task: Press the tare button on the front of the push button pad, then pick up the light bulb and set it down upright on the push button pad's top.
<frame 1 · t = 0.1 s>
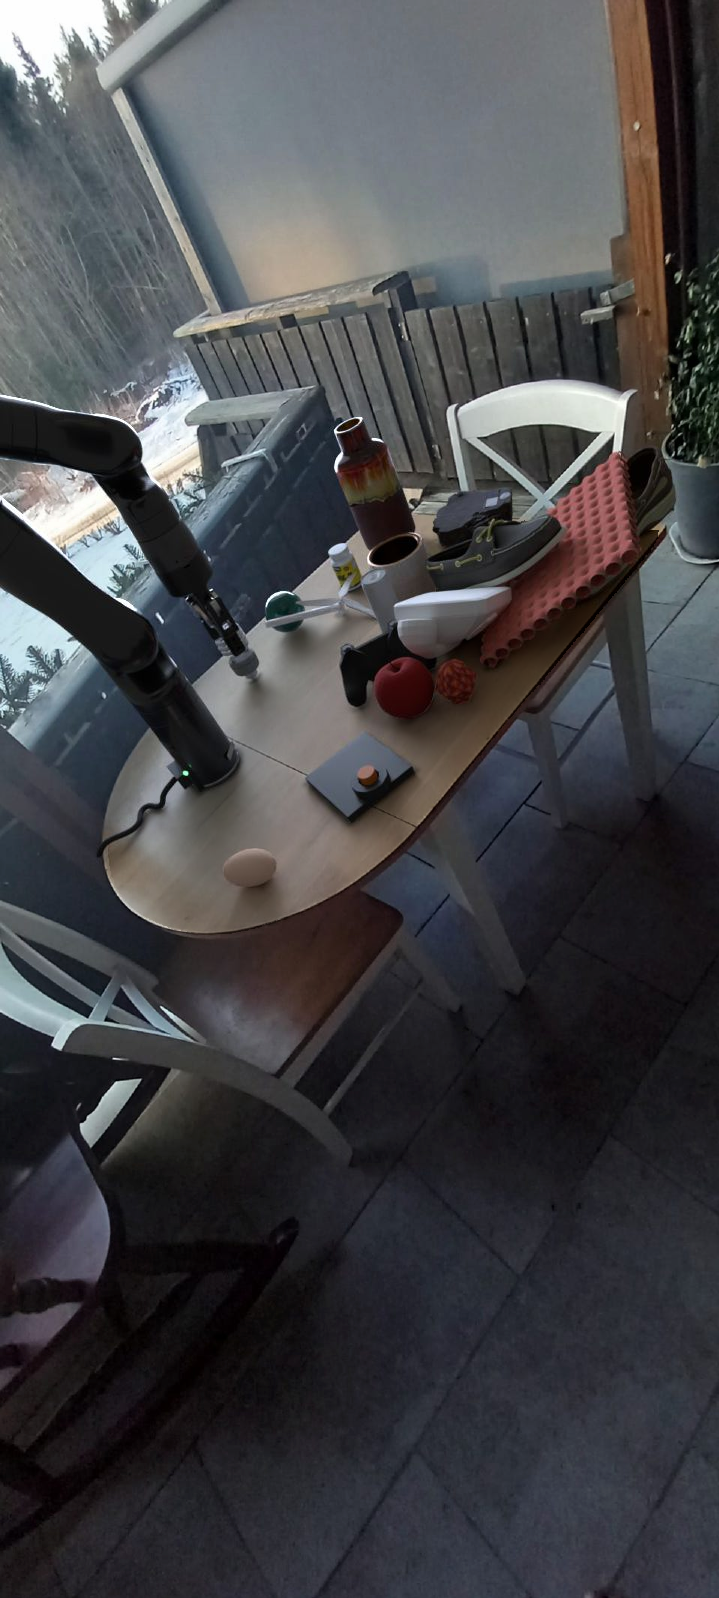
hand: (229, 644, 118), 17 cm above the table, tool pointing down, fingers open, 8 cm apart
egg carton: (558, 564, 117), point 7 cm above the table, touching boat shoe, boat shoe 2, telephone
boat shoe: (614, 551, 126), on the table, touching egg carton
rock sample: (475, 526, 150), on the table
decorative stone: (464, 702, 115), on the table
apple: (413, 709, 118), on the table
boat shoe 2: (503, 575, 123), point 6 cm above the table, touching egg carton, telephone
sphere: (293, 628, 149), on the table
egg: (275, 862, 102), point 3 cm above the table
wind turbine: (265, 625, 141), point 7 cm above the table
planter: (411, 594, 142), on the table
vase: (395, 548, 156), on the table
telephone: (451, 593, 117), point 10 cm above the table, touching boat shoe 2, egg carton
push button pad: (359, 778, 112), on the table
game controller: (390, 678, 126), on the table
supplement bottle: (353, 585, 153), on the table
light bulb: (254, 678, 143), on the table
tare button: (367, 775, 106), point 3 cm above the table, slide at 0.1 cm
beverage can: (396, 633, 135), on the table
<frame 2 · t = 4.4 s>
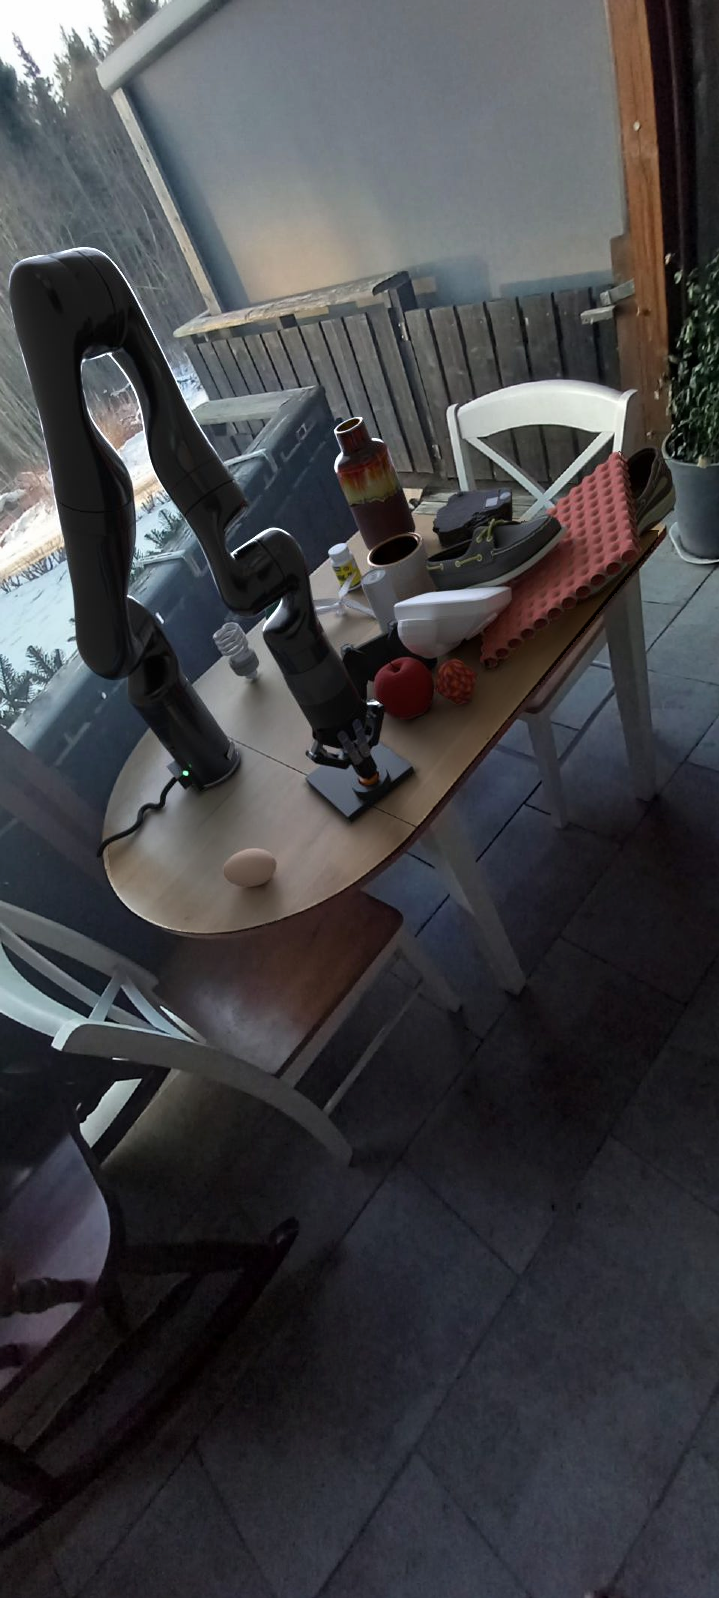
hand: (369, 774, 106), 3 cm above the table, tool pointing down, fingers closed
tare button: (369, 779, 107), point 3 cm above the table, slide at -0.7 cm, touching gripper
everything else where it was.
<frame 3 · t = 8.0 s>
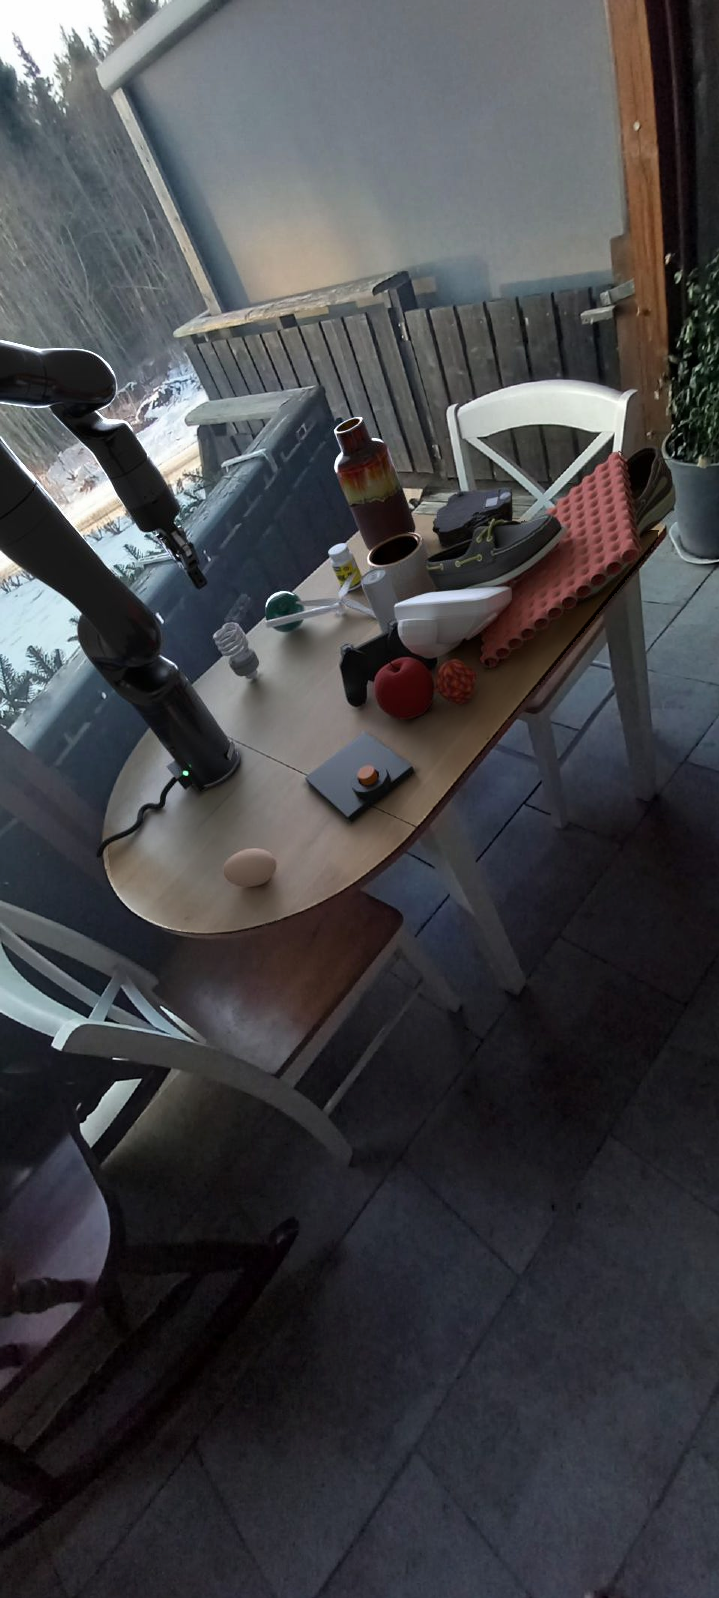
hand: (201, 585, 128), 21 cm above the table, tool pointing down, fingers closed
tare button: (367, 775, 106), point 3 cm above the table, slide at 0.1 cm
everything else where it was.
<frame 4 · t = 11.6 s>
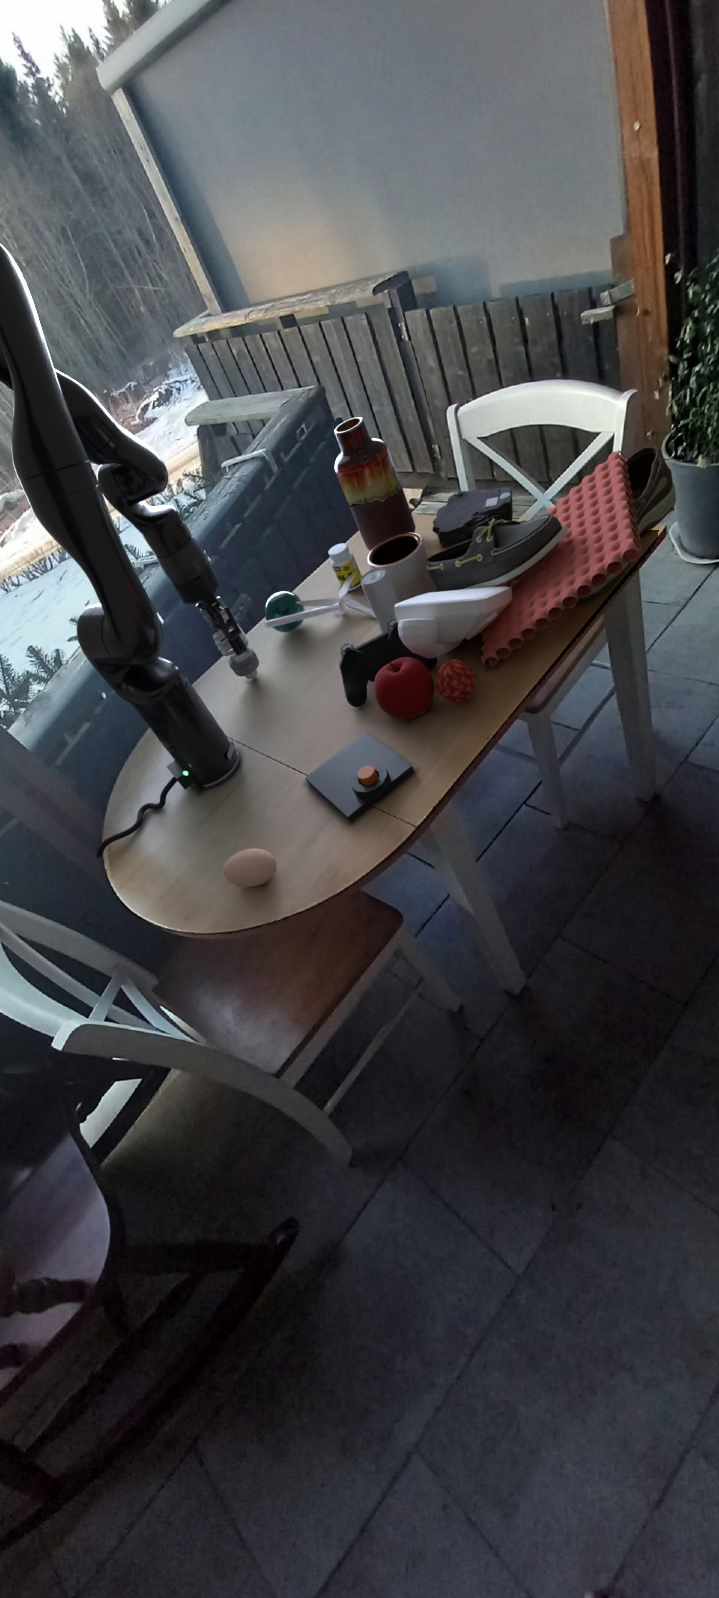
hand: (235, 646, 138), 8 cm above the table, tool pointing down, fingers closed on light bulb, 5 cm apart
light bulb: (254, 678, 143), on the table, touching gripper
everything else where it was.
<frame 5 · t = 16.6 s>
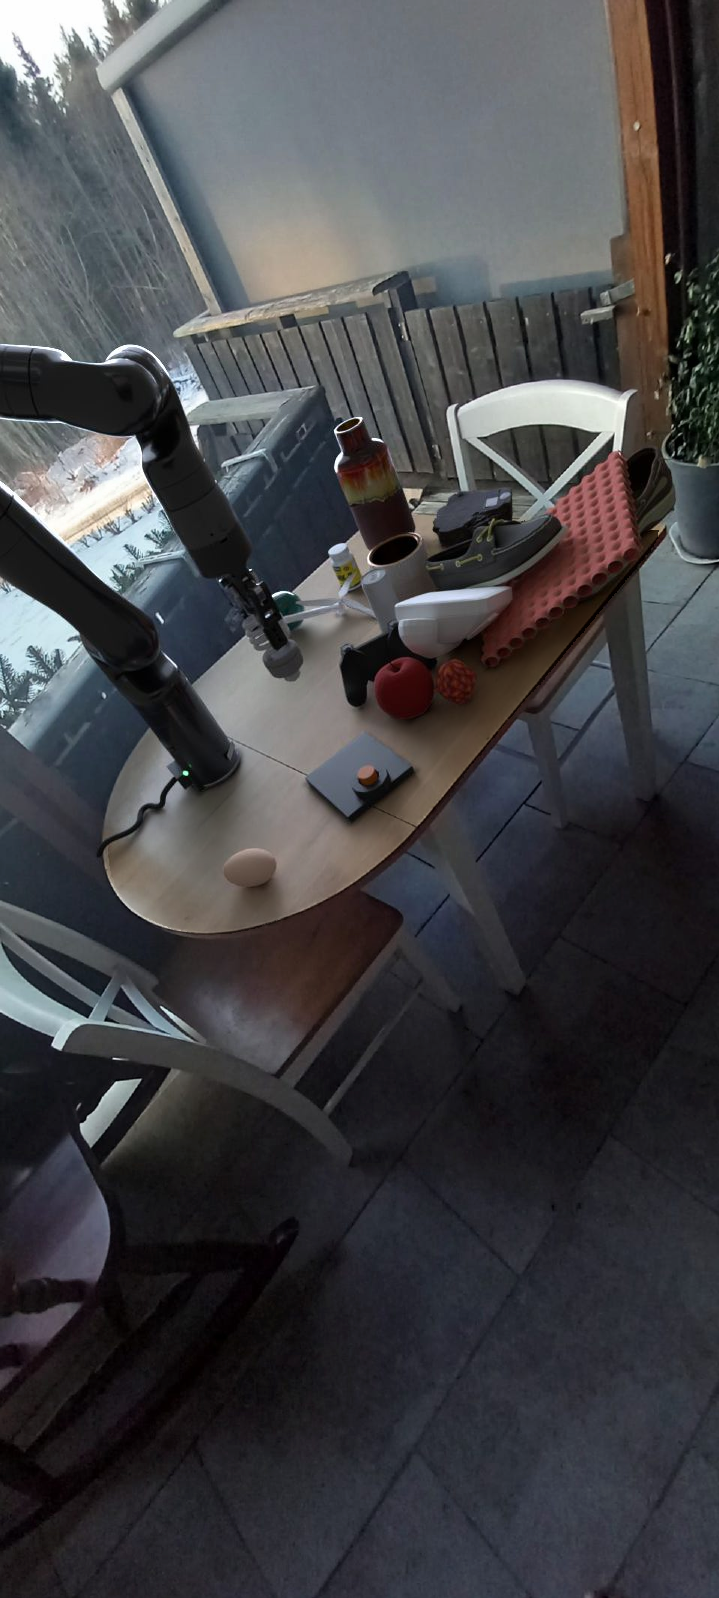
hand: (270, 638, 101), 24 cm above the table, tool pointing down, fingers closed on light bulb, 5 cm apart
light bulb: (295, 681, 107), point 16 cm above the table, touching gripper
everything else where it was.
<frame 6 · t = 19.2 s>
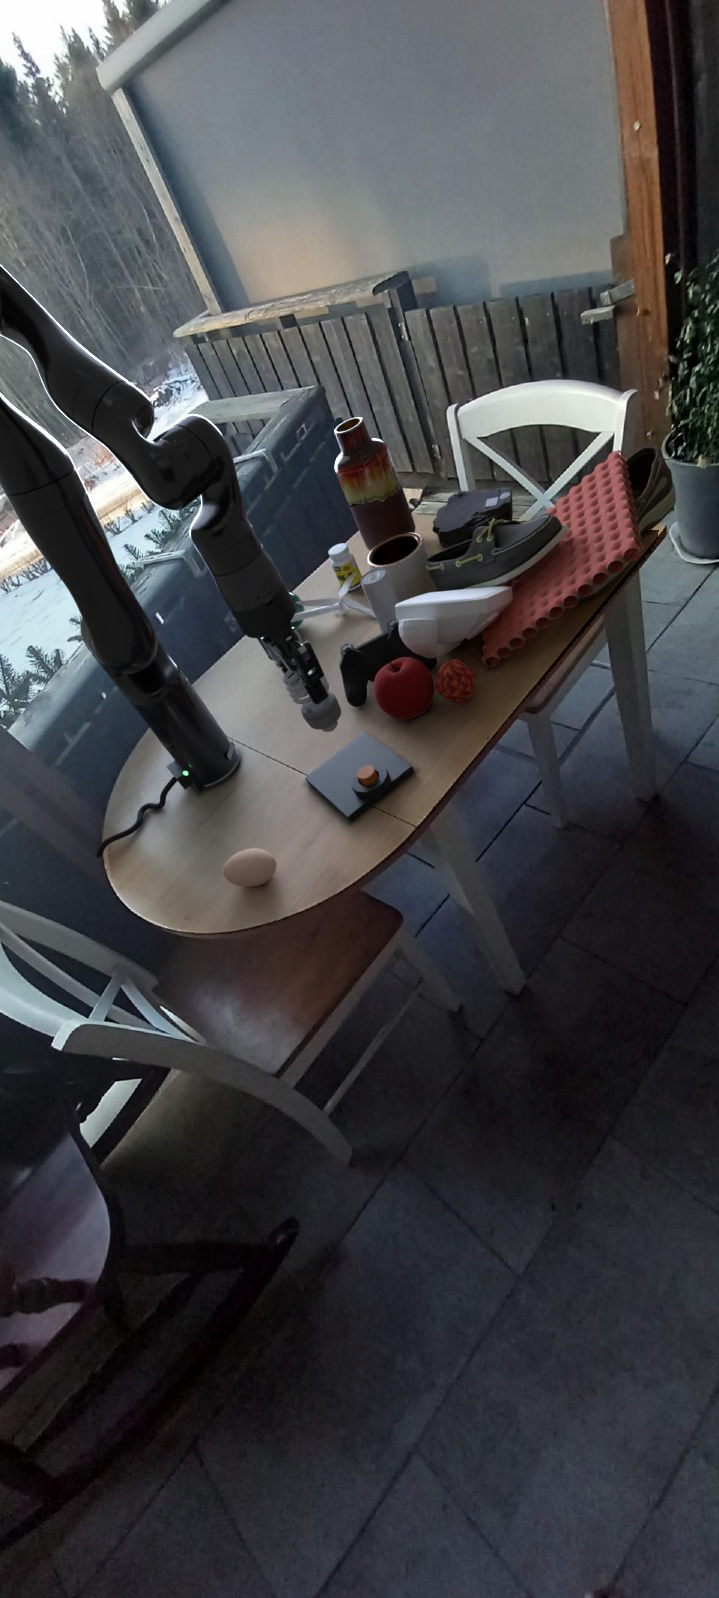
hand: (310, 691, 103), 16 cm above the table, tool pointing down, fingers closed on light bulb, 5 cm apart
light bulb: (332, 731, 108), point 8 cm above the table, touching gripper
everything else where it was.
when the fingers open (9 cm above the table, at t = 21.7 s): light bulb stays where it is, resting on push button pad.
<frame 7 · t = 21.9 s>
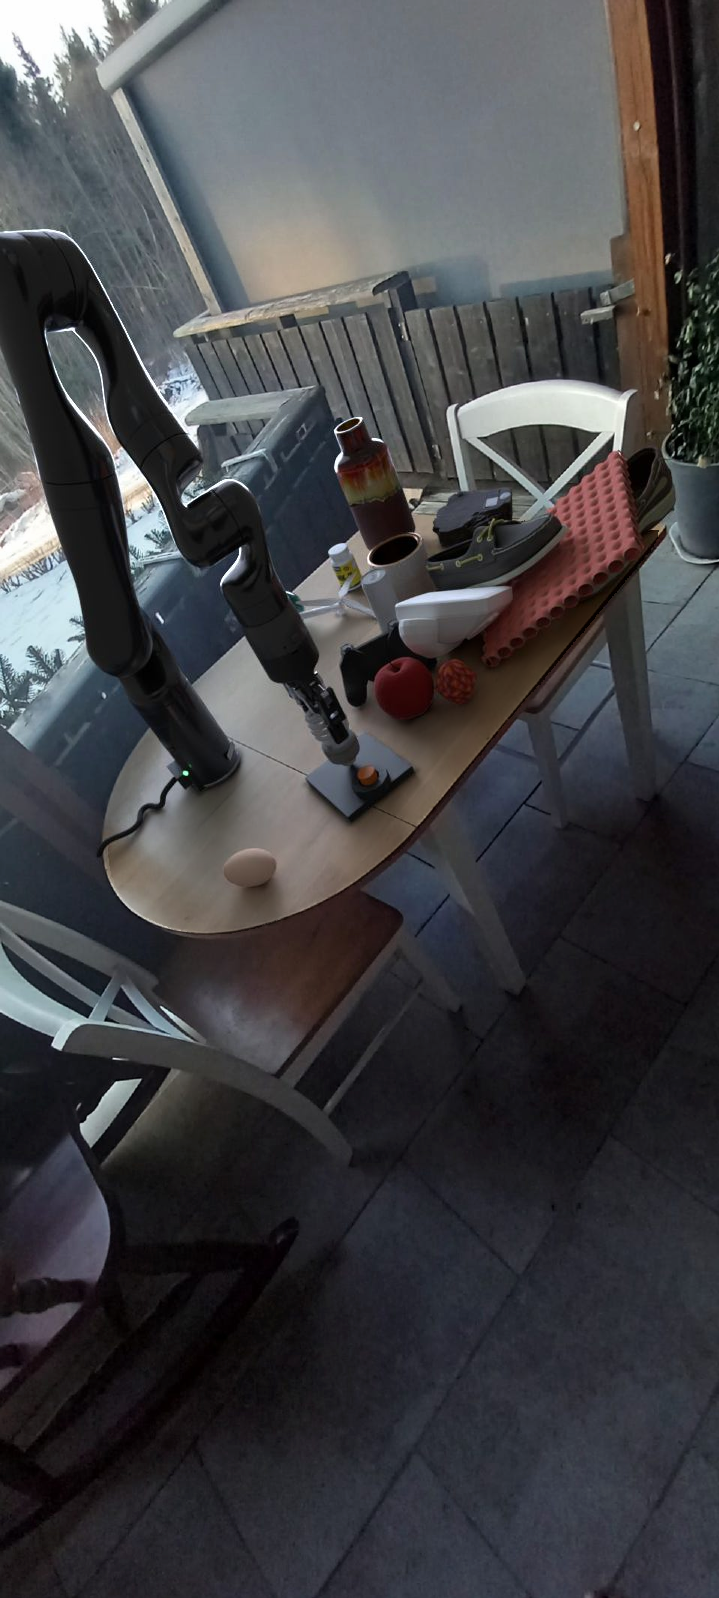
hand: (330, 730, 107), 9 cm above the table, tool pointing down, fingers open, 6 cm apart
light bulb: (351, 765, 113), point 1 cm above the table, touching push button pad
everything else where it was.
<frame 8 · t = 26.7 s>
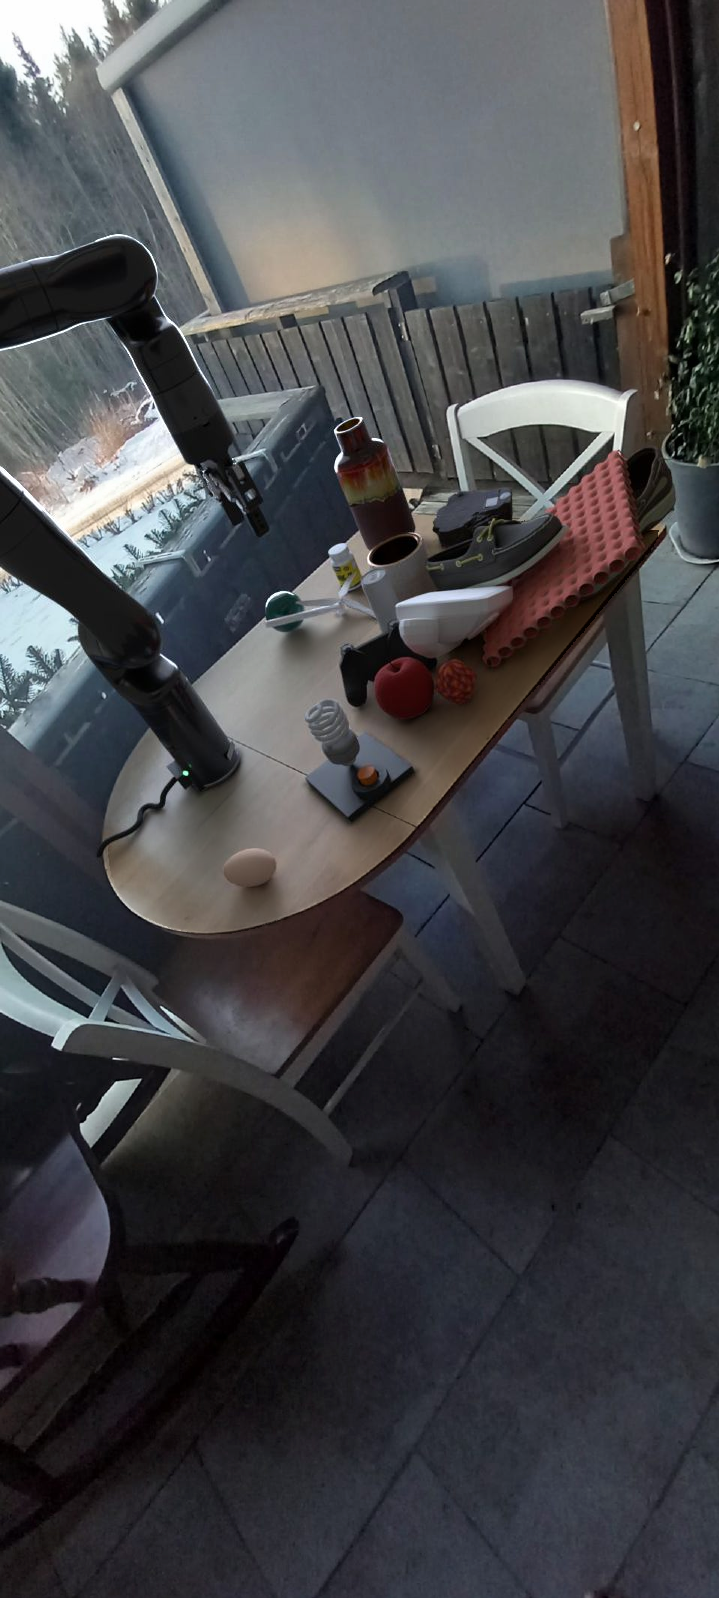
hand: (250, 528, 107), 32 cm above the table, tool pointing down, fingers open, 8 cm apart
nothing on the table moved.
at the end: tare button pushed in 0.9 cm at the most during the clip, back to where it started at the end; light bulb inside the target area on the push button pad (1.0 cm from its centre), point 1.2 cm above the push button pad's base; light bulb touching push button pad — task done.
